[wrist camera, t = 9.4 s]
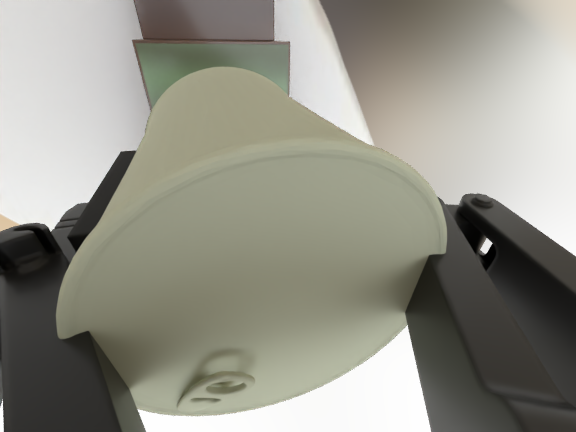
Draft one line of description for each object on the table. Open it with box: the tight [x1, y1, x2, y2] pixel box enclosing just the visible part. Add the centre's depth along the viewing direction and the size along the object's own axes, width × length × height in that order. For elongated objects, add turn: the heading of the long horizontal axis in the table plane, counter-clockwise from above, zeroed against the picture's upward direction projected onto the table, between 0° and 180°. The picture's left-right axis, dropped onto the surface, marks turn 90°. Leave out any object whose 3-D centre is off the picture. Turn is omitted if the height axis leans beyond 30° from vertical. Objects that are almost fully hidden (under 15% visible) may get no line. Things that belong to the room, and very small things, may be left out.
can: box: [56, 67, 447, 416], centre depth 11 cm, size 9×9×12 cm
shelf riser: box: [132, 0, 290, 111], centre depth 26 cm, size 24×12×16 cm, turn 0°
